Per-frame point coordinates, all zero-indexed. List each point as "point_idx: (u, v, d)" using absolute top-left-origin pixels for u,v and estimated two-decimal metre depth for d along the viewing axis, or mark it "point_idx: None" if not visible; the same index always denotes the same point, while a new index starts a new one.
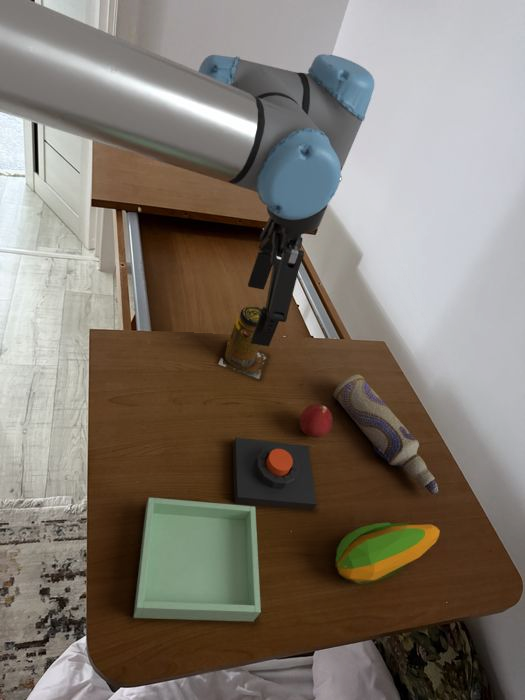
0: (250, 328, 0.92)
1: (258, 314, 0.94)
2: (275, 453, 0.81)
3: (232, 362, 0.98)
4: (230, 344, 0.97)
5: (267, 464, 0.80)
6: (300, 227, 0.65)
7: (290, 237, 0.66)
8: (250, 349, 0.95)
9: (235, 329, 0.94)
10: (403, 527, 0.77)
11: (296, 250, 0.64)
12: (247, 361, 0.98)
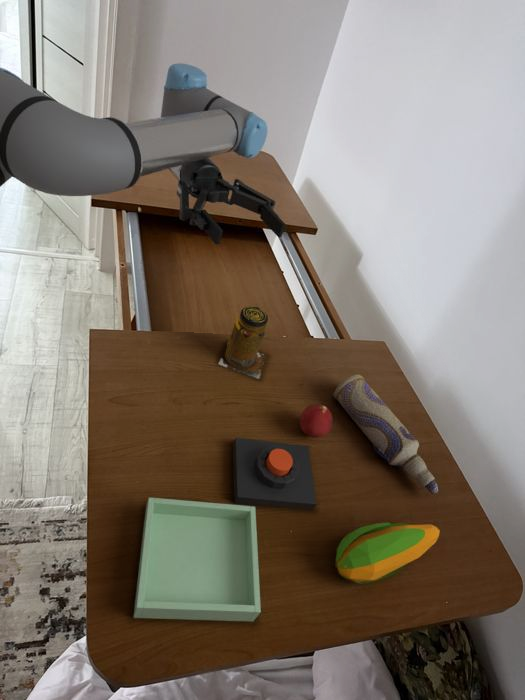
0: (250, 328, 0.92)
1: (258, 314, 0.94)
2: (275, 453, 0.81)
3: (232, 362, 0.98)
4: (230, 344, 0.97)
5: (267, 464, 0.80)
6: (187, 179, 0.96)
7: None
8: (250, 349, 0.95)
9: (235, 329, 0.94)
10: (403, 527, 0.77)
11: None
12: (247, 361, 0.98)
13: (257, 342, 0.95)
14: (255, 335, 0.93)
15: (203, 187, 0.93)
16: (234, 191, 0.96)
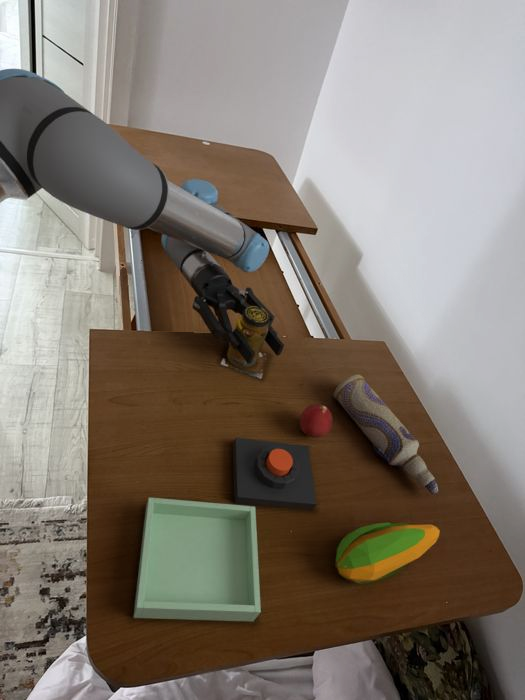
0: (253, 328, 0.93)
1: (260, 314, 0.94)
2: (275, 453, 0.81)
3: (234, 362, 0.99)
4: None
5: (267, 464, 0.80)
6: (198, 287, 1.02)
7: (201, 296, 1.01)
8: (252, 348, 0.96)
9: (237, 329, 0.95)
10: (403, 527, 0.77)
11: (194, 300, 0.99)
12: None
13: (259, 342, 0.95)
14: (258, 335, 0.94)
15: (220, 300, 0.98)
16: (239, 301, 1.01)
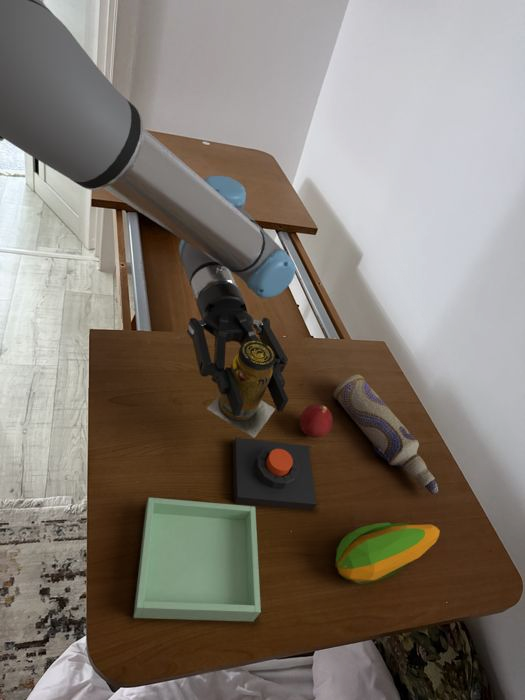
0: (248, 370, 0.69)
1: (263, 353, 0.71)
2: (275, 453, 0.81)
3: (224, 409, 0.76)
4: None
5: (267, 464, 0.80)
6: (201, 308, 0.81)
7: (203, 319, 0.80)
8: (247, 396, 0.72)
9: (231, 368, 0.72)
10: (403, 527, 0.77)
11: None
12: (243, 412, 0.75)
13: (257, 390, 0.72)
14: (254, 380, 0.70)
15: (221, 328, 0.77)
16: (247, 333, 0.78)
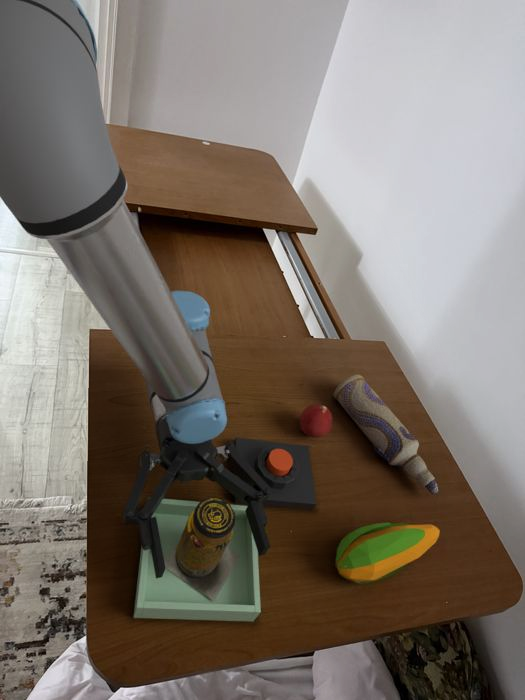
0: (203, 538, 0.61)
1: (221, 515, 0.63)
2: (275, 453, 0.81)
3: (181, 566, 0.67)
4: (180, 542, 0.66)
5: (267, 464, 0.80)
6: (159, 440, 0.72)
7: None
8: (204, 560, 0.64)
9: (186, 528, 0.64)
10: (403, 527, 0.77)
11: None
12: (201, 572, 0.66)
13: (215, 554, 0.63)
14: (211, 547, 0.62)
15: (171, 467, 0.68)
16: (216, 470, 0.70)
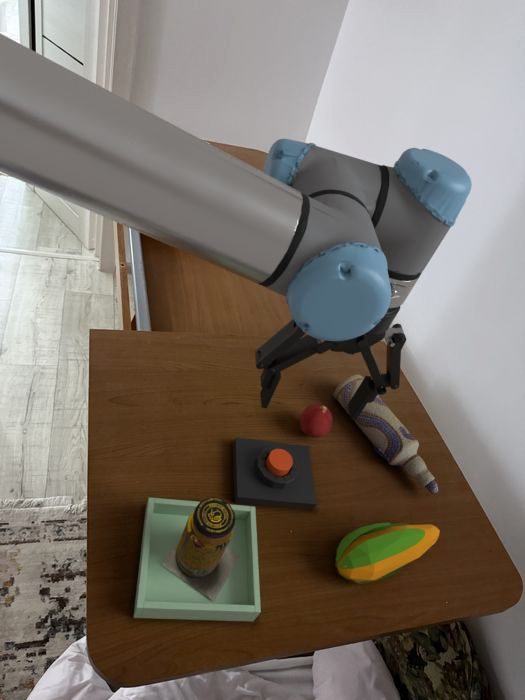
0: (203, 538, 0.61)
1: (221, 515, 0.63)
2: (275, 453, 0.81)
3: (181, 566, 0.67)
4: (180, 542, 0.66)
5: (267, 464, 0.80)
6: None
7: None
8: (204, 560, 0.64)
9: (186, 528, 0.64)
10: (403, 527, 0.77)
11: None
12: (201, 571, 0.66)
13: (215, 554, 0.63)
14: (211, 547, 0.62)
15: (321, 347, 0.61)
16: (363, 358, 0.63)
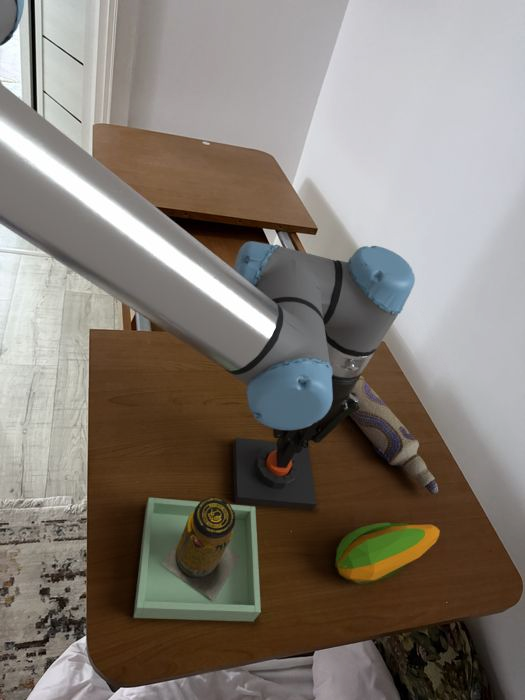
0: (203, 538, 0.61)
1: (221, 515, 0.63)
2: (274, 455, 0.81)
3: (181, 566, 0.67)
4: (180, 542, 0.66)
5: (266, 466, 0.80)
6: None
7: None
8: (204, 560, 0.64)
9: (186, 528, 0.64)
10: (403, 527, 0.77)
11: None
12: (201, 571, 0.66)
13: (215, 554, 0.63)
14: (211, 547, 0.62)
15: None
16: None
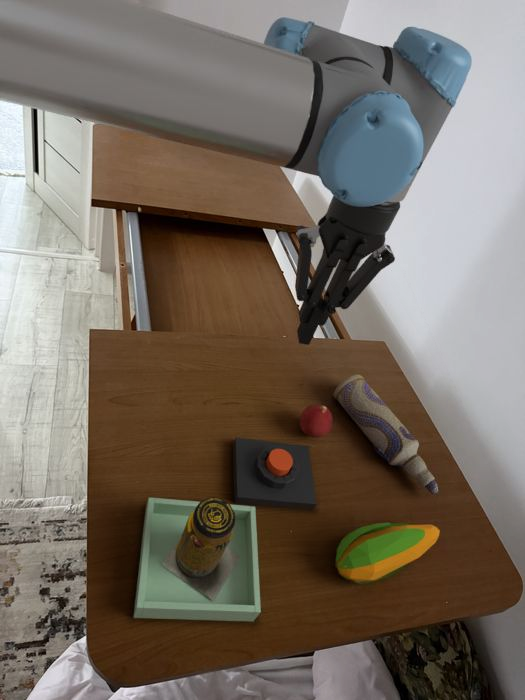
0: (203, 538, 0.61)
1: (221, 515, 0.63)
2: (275, 453, 0.81)
3: (181, 566, 0.67)
4: (180, 542, 0.66)
5: (267, 464, 0.80)
6: (332, 207, 0.58)
7: (325, 216, 0.59)
8: (204, 560, 0.64)
9: (186, 528, 0.64)
10: (403, 527, 0.77)
11: (299, 232, 0.60)
12: (201, 571, 0.66)
13: (215, 554, 0.63)
14: (211, 547, 0.62)
15: (331, 260, 0.61)
16: (346, 266, 0.63)
